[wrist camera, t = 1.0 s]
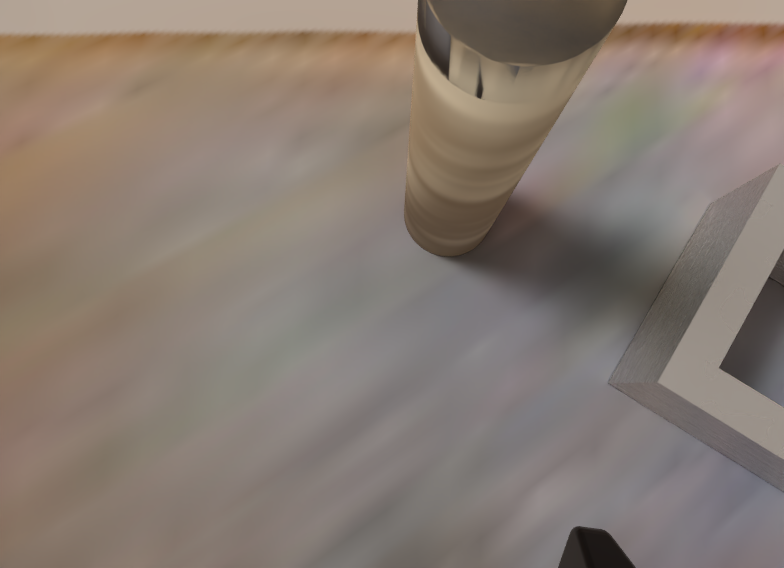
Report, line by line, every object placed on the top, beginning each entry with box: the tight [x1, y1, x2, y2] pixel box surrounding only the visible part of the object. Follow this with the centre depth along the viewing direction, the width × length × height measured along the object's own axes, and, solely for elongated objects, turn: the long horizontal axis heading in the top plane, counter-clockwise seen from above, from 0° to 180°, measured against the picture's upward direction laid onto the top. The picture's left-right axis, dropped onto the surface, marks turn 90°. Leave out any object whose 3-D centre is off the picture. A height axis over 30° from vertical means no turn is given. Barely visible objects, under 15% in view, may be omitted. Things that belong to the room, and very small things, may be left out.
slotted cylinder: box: [404, 0, 627, 256], centre depth 16 cm, size 3×3×13 cm
